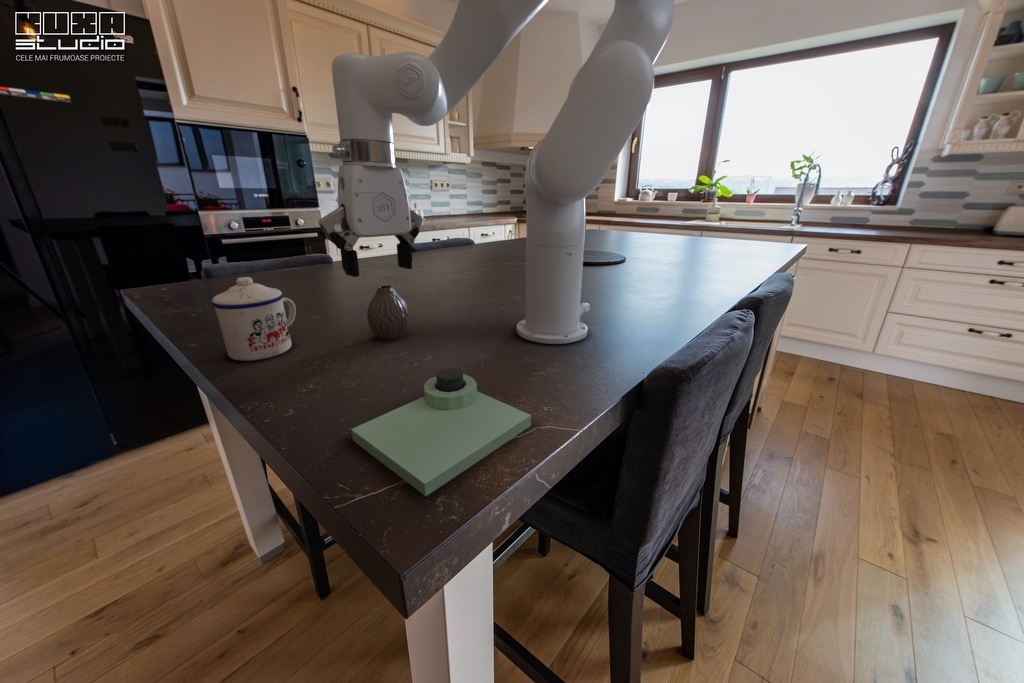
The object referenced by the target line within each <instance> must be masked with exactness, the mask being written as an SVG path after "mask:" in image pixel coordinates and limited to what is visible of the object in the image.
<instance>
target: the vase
mask: <svg viewBox="0 0 1024 683" xmlns="http://www.w3.org/2000/svg"><path fill="white" fill-rule="evenodd" d="M366 317H367V318H366V319H367V323H368V326H369V328H370V331H371V332H372V334H374V335H375V336H376V337H377V338H378V339H380V340H382V341H383V340H384V341H392V340H398V339H400V338H402V337H403V336H404V335H405V334H406V333H407V331H408V329H409V326H410V319H411V318H410V310H409V307H408V305H407V303H406V301H405V300H404V299H403V298H402V297H401V295H400V294H398V292H396V289H395V287H394V286H393V285H390V284H389V285H388V284H385V285H379V286H377V289H376V291H375V294H374V296H373V297H372V299H371V300H370V302H369V303H368V306H367V312H366Z"/></svg>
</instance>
